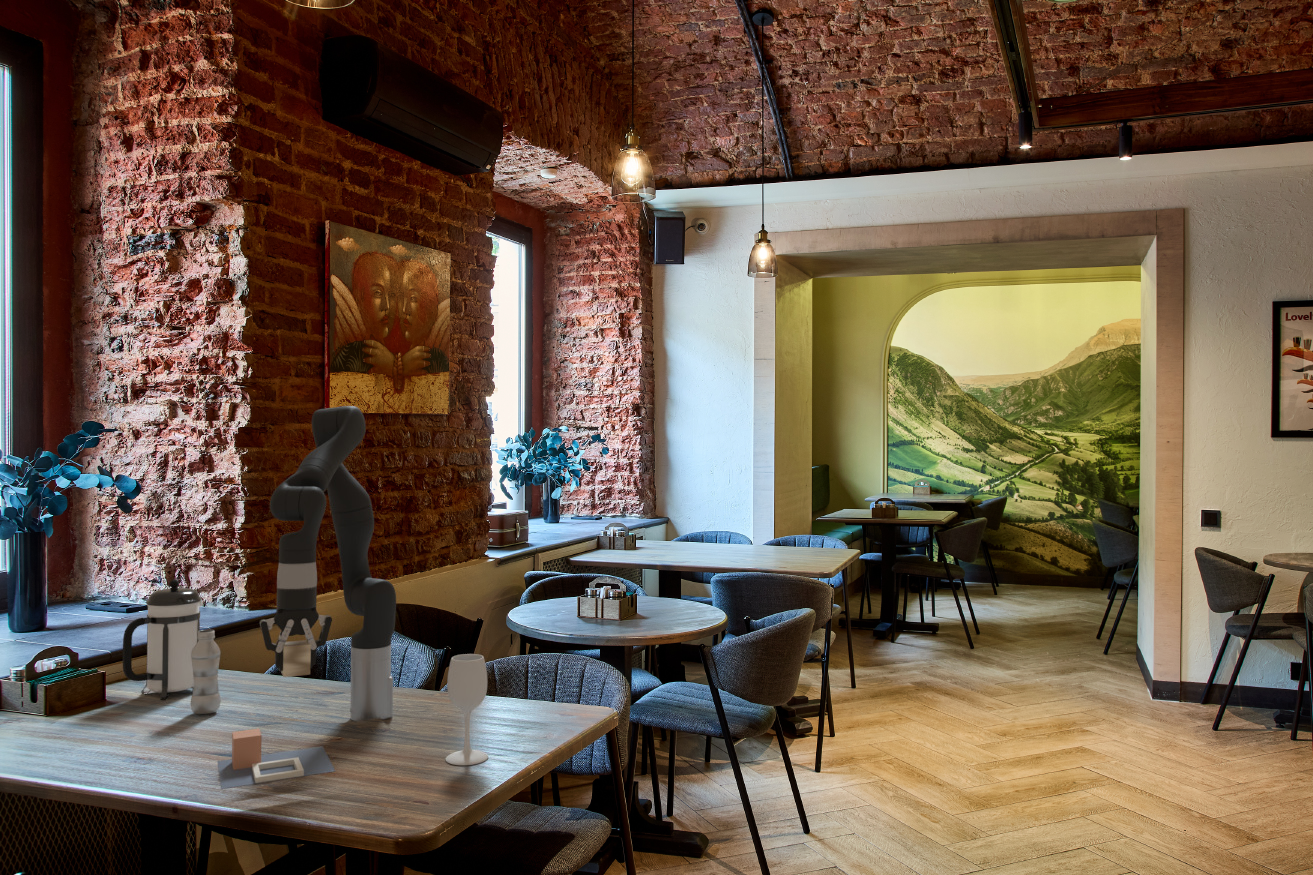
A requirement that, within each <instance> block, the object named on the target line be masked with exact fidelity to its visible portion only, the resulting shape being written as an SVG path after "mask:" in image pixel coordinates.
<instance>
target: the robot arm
mask: <svg viewBox="0 0 1313 875" xmlns="http://www.w3.org/2000/svg"><path fill="white" fill-rule="evenodd" d="M366 429H367V428H366V420H365V416H364V413H363V412H362V410H361V409H360V408H359V407H357V406H354V405H342V406H337V407H328V408H321V409H317V410H315V411H314V412H313V414H312V417H311V430H312V435H313V438H314V443H315V447H316V448H315V449H313V450H312V451H310V452H309V453H308V454H307V455H306V456H305V457H304V459H303V460H302V462H301V463H300V465H299V466H298V468H297V470H296V471H295V473H294V474H292V475H290V476H289V477H288V478H287V479H285V480H284V481H282V482H281V483H280V484H279V485H278V486H276V489H275V490H274V491H273V492H272V494H271V497H270V500H269V510H270V512H271V514H272V517H274V518H275V519H276V520H278V521H283V522H303V525H302V528H301V529H300V530H297V531H293V532H288V533H285V534H282V535H281V536H280V538H279V542H278V549H279V550H278V568H277V576H276V578H277V579H276V611H275V614H274V616H273V617H271V618H268V619H261V620H259V626H260V630H261V634H262V638H263V642H264V646H265V648H266V650H267V651H271V652H274V653H275V654H274V666H275V668H276V669H278V671H279V672H281V671H283V651H282V650H283V646H284V645H285V642H288V641H287V640H288V638H289V637H293V636H305V640H307V642H308V643H310V644H311V661H310V669H313V666H315V665H316V664H317V650H318V648H320V647H322V646H323V647H324V646H325V645H326V644H327V640H328V638H329V637H328V636H329V632H330V629H331V626H332V622H333V618H332V616H331V615H329V614H326V615H325V614H324V615H323V614H319V612H318V611H317V595H318V594H317V589H318V587H317V584H318V573H317V572H318V570H317V539H318V535H319V532H320V527H321V523H322V522H323V521H322V520H323V517H324V515H325V512H326V507H327V497H326V495H325V492H326V491H327V494H328V501H329V506H330V507H329V508H330V512H331V519H332V524H333V528H334V532H335V536H336V537H335V538H336V540H337V541H336V542H337V548H338V553H339V554H338V555H339V559H340V560H339V561H340V567H341V568H340V569H341V576H342V577H341V578H342V590H343V598H344V603H345V606H346V608H347V610H348V611H349V612H350V613H351V614H353V615H355V616H356V615H357V616H360V617H363V620H362V621H363V622H362V628H361V629H360V630H358V631H356V632H354V633H352V635H351V638H350V639H351V640H350V647H351V648H350V710H349V711H350V720H351V721H353V722H362V721H369V720H375V719H381V720H386V719H389V718H393V717H394V716H393V712H394V711H393V710H394V708H393V707H394V706H393V705H394V702H393V700H394V695H393V694H394V678H393V676H392V637H393V635H394V632H395V628H396V613H397V612H396V611H397V610H396V609H397V594H396V593H397V592H396V590H395V587H394V585H393V583H392V582H390V581H388V580H386V579H381V578H373V577H372V575H371V571H370V565H369V560H368V558H369V557H368V551H369V547H370V544H371V541H372V537H373V535H374V534H373V533H374V530H375V517H374V511H373V505H372V500H371V498H370V495H369V493H368V492H367V490H366V489H365V488H364V487H363V485H361V483H360V482H359V481H358V480H357V479H356V478H355V477H354V476H353V475H352V474H351V473H350V472H349V470H348V469H347V468H346V466H345V465H344V463H343V462H344V461H345V460H346V459H347V458H348V457H349V456H350V455H351V453H352V452H354V450H355V449H356V447H358V446H359V445H360V443H361V442H362V441H363V439H364V436H365V434H366ZM317 621H319V625H320V627H321V629H320V633H319V637H318V639H316V640H315V638H314V634H313V632H312V628H313V627H314V625H316V623H317ZM274 624H275V625H276V626H277V627H278V628H279V630H280V632H279V636H278V639H277V641H276V642H275V643H274V642H272V639H271V634H270V630H271V631H272V629H273V625H274Z"/></svg>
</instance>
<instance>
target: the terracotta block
mask: <svg viewBox="0 0 1313 875" xmlns="http://www.w3.org/2000/svg"><path fill="white" fill-rule="evenodd" d="M231 734H232V735H231V737H232V738H231V745H232V746H231V759H232V765H233V770H236V769H243V768H250V767H252V764H256V763H261V755H262V738H263V737H262V733H261V729H260V728H254V729H245V730H239V731H232V733H231Z"/></svg>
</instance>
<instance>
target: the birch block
mask: <svg viewBox="0 0 1313 875" xmlns="http://www.w3.org/2000/svg"><path fill="white" fill-rule="evenodd" d="M282 651H283V671H280V672H281V675H282V676H283V678H287V677H297V676H298V677H299V676H307V675H311V668H310V661H311V644H310V643H308V642H307V639H305V640H293V641H286V642H285V645H284V646H283V650H282Z"/></svg>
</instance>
